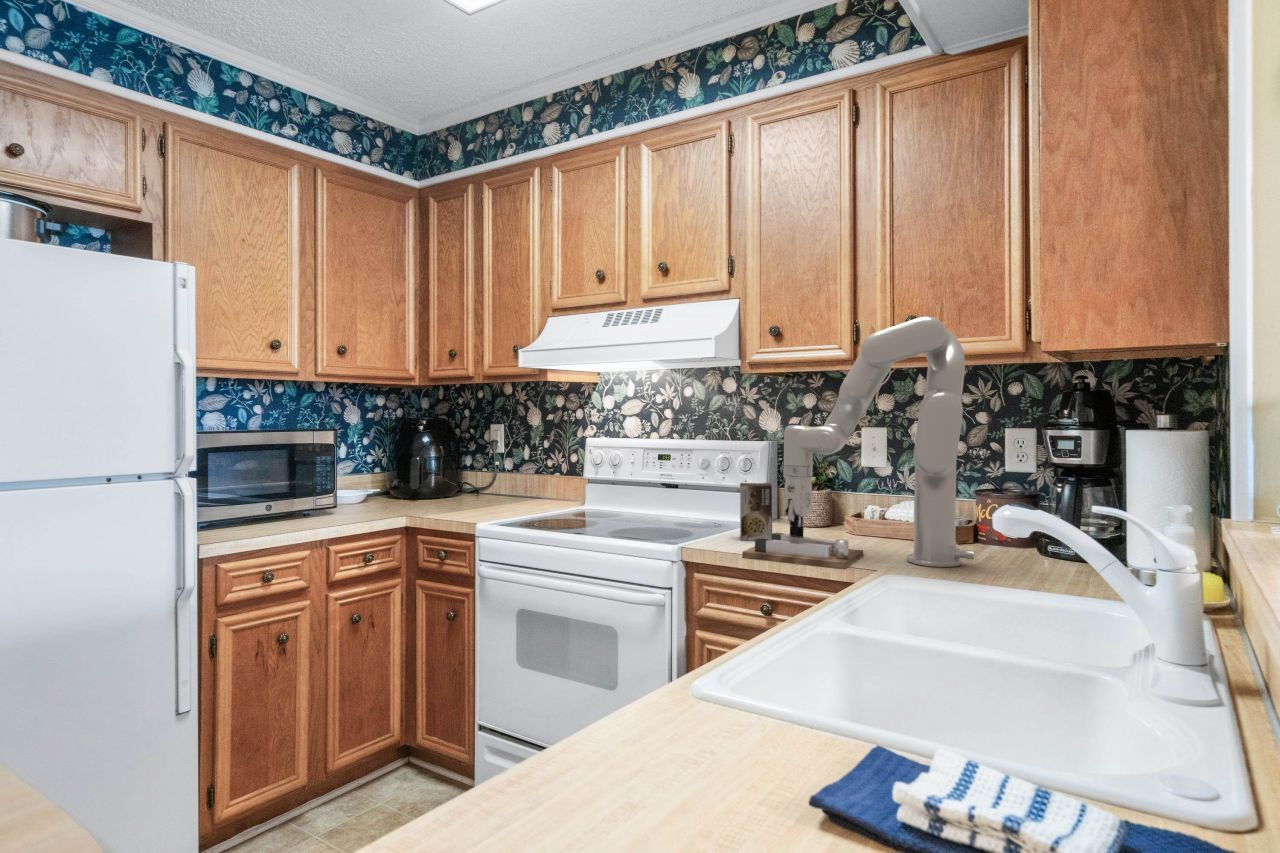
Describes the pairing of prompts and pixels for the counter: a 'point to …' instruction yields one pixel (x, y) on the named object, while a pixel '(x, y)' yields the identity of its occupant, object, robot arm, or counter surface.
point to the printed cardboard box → (755, 511)
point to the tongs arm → (804, 540)
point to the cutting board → (805, 558)
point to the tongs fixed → (802, 548)
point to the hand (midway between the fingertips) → (796, 541)
